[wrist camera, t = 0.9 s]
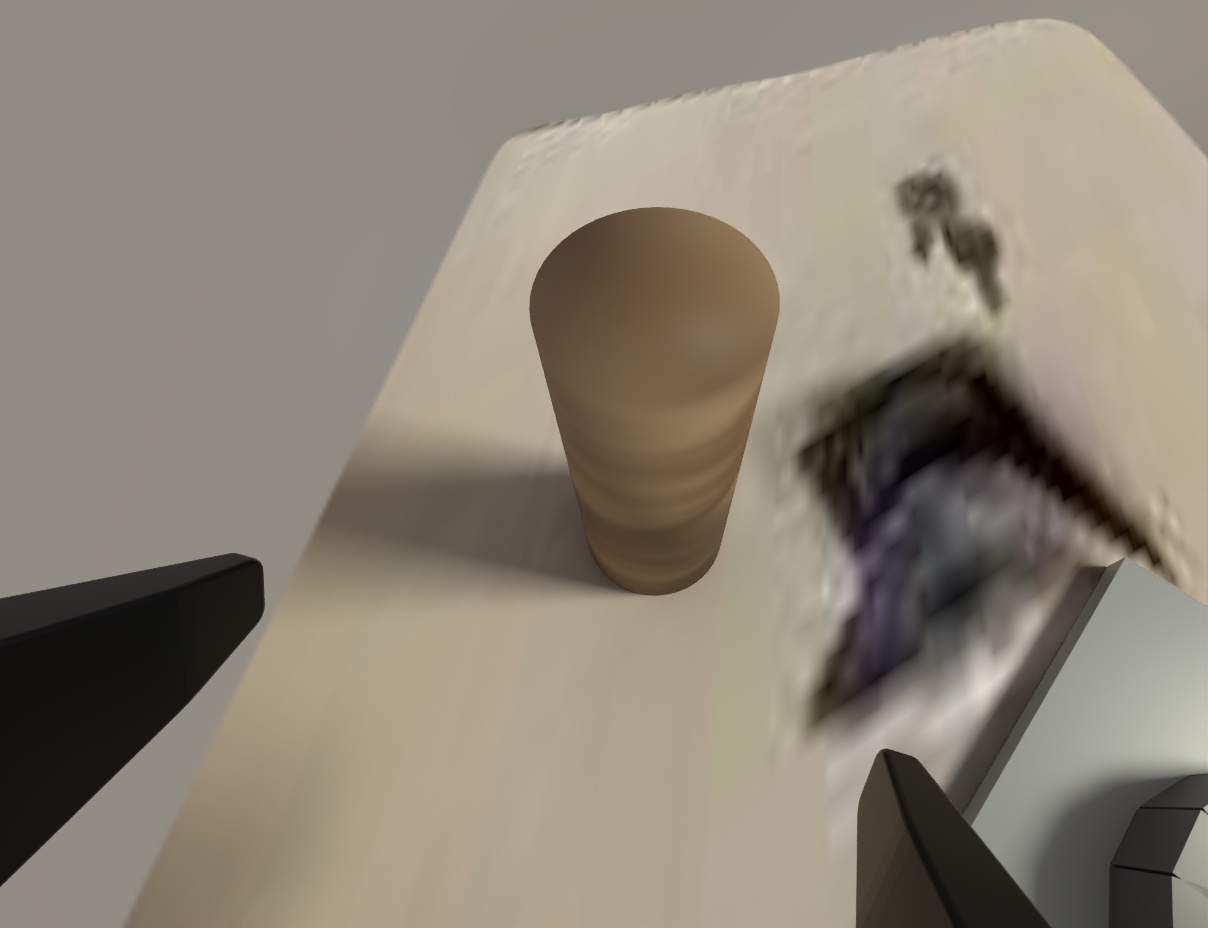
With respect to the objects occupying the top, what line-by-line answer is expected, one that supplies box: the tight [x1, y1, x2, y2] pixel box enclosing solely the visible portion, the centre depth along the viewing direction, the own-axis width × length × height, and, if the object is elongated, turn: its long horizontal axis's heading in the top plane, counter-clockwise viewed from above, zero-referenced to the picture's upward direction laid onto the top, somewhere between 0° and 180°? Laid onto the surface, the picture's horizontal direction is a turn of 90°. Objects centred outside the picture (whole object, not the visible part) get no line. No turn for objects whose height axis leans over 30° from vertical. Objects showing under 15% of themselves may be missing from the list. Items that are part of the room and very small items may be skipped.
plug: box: [529, 207, 780, 595], centre depth 19 cm, size 5×5×13 cm
